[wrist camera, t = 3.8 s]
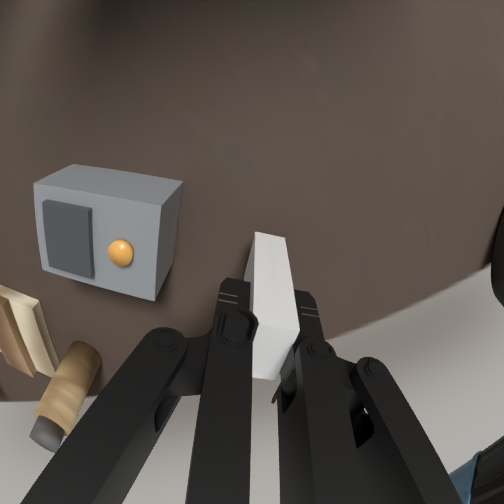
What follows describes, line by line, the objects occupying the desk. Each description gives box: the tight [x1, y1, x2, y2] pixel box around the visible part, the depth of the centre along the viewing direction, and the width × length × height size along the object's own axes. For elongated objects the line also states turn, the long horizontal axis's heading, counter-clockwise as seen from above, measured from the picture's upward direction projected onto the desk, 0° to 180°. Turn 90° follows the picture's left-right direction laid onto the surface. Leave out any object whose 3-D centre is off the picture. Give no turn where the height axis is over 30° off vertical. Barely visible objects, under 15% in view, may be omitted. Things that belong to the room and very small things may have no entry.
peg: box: [30, 341, 102, 453], centre depth 18 cm, size 3×3×10 cm
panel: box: [0, 285, 60, 378], centre depth 20 cm, size 12×10×2 cm
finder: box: [34, 164, 183, 301], centre depth 14 cm, size 7×5×4 cm
